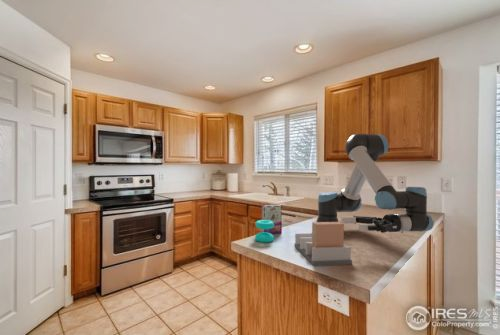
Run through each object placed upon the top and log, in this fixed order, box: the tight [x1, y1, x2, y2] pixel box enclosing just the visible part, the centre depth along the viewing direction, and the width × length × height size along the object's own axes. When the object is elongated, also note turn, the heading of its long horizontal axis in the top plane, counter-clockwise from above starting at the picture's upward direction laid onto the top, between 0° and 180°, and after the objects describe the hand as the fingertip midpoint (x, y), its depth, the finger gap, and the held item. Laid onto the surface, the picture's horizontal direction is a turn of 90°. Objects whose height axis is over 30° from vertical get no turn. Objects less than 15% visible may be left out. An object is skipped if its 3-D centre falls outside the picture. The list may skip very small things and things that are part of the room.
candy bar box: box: [261, 204, 283, 235], centre depth 141 cm, size 11×5×16 cm, turn 105°
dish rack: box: [294, 232, 353, 267], centre depth 106 cm, size 24×16×6 cm, turn 7°
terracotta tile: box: [311, 221, 345, 248], centre depth 99 cm, size 4×12×14 cm, turn 98°
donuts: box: [254, 219, 275, 243], centre depth 126 cm, size 10×10×10 cm
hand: (350, 223), depth 100 cm, fingers open, 13 cm apart
